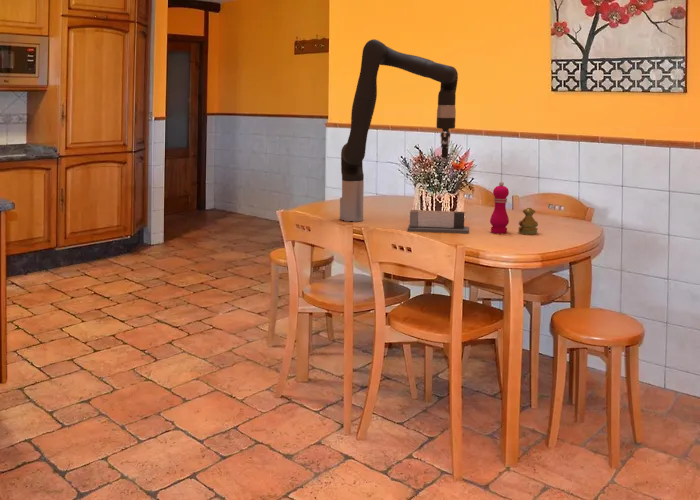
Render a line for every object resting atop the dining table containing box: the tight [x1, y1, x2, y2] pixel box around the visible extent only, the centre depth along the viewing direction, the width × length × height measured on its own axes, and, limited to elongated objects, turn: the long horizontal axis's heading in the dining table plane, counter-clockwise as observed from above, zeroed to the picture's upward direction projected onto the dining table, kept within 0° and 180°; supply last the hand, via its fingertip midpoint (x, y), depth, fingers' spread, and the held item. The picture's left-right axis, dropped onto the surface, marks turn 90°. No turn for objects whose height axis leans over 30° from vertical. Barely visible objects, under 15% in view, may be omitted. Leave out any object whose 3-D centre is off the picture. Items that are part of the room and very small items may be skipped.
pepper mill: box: [489, 181, 510, 235], centre depth 274 cm, size 7×7×20 cm
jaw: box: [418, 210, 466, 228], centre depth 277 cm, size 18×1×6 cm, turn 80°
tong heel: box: [409, 209, 420, 227], centre depth 279 cm, size 3×5×6 cm, turn 170°
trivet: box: [407, 223, 470, 235], centre depth 279 cm, size 24×9×1 cm, turn 80°
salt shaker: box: [518, 207, 539, 236], centre depth 273 cm, size 7×7×10 cm
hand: (444, 156), depth 286 cm, fingers open, 8 cm apart
